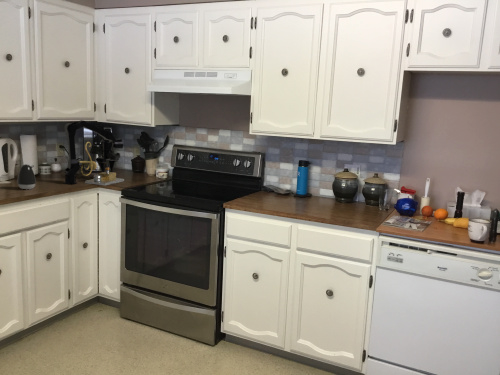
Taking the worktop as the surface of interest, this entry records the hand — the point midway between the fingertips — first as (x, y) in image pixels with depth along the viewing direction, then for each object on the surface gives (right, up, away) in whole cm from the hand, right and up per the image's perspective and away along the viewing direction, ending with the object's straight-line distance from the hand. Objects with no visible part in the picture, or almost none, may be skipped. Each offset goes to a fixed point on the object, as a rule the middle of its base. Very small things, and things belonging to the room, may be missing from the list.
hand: (107, 171), depth 320 cm
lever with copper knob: (0, -6, +1) cm, 6 cm away
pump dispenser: (-37, -12, -38) cm, 55 cm away
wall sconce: (-21, -3, +20) cm, 29 cm away
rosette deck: (-1, -8, -2) cm, 8 cm away
